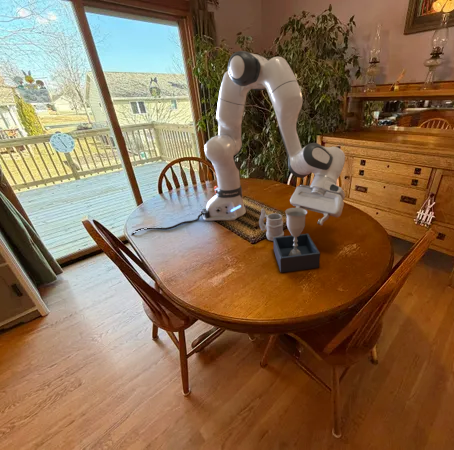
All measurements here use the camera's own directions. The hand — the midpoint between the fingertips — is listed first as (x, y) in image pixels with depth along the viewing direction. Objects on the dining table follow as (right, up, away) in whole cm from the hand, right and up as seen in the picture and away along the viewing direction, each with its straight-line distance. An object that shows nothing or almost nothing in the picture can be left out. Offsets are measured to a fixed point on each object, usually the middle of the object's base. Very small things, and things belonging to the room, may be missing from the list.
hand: (308, 221), depth 87 cm
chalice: (-5, -13, 0) cm, 14 cm away
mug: (-13, -6, +15) cm, 21 cm away
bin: (-5, -14, 0) cm, 15 cm away
